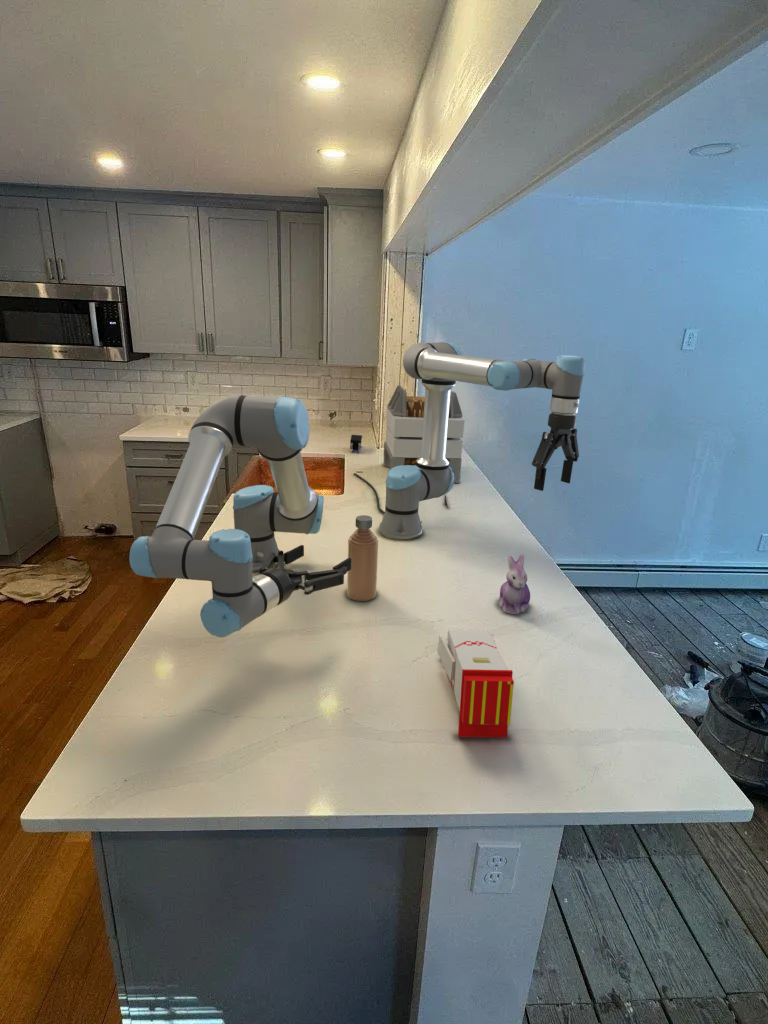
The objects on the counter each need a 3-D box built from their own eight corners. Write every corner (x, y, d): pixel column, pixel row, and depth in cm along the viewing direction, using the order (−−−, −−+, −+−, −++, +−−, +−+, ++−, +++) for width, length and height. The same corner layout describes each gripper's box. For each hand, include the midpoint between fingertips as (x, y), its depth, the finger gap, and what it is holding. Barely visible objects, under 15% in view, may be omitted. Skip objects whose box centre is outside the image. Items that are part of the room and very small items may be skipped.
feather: (444, 490, 254) (446, 487, 253) (447, 509, 227) (450, 505, 226) (441, 488, 253) (443, 485, 253) (443, 507, 227) (446, 503, 226)
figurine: (512, 619, 147) (519, 566, 142) (488, 601, 156) (494, 551, 151) (540, 611, 151) (548, 560, 146) (515, 594, 160) (522, 546, 155)
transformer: (382, 463, 289) (386, 382, 275) (445, 464, 293) (451, 384, 279) (390, 482, 257) (394, 392, 243) (460, 483, 261) (468, 394, 247)
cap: (356, 529, 148) (356, 521, 147) (354, 523, 152) (355, 515, 151) (372, 529, 148) (373, 520, 148) (370, 523, 152) (371, 515, 152)
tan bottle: (348, 601, 153) (349, 525, 145) (345, 587, 160) (347, 514, 153) (377, 600, 154) (381, 524, 146) (374, 586, 161) (377, 514, 154)
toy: (488, 613, 130) (523, 677, 101) (484, 667, 133) (517, 744, 104) (435, 612, 130) (455, 676, 101) (432, 666, 133) (451, 743, 103)
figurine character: (361, 456, 307) (362, 446, 320) (362, 442, 303) (362, 433, 317) (349, 455, 306) (350, 446, 320) (349, 442, 303) (350, 433, 316)
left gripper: (223, 591, 124) (284, 559, 142) (316, 623, 113) (370, 584, 131) (221, 559, 122) (284, 531, 139) (316, 589, 111) (371, 554, 128)
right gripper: (548, 419, 148) (537, 496, 155) (598, 411, 163) (586, 482, 171) (525, 414, 153) (515, 489, 160) (575, 407, 169) (564, 476, 176)
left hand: (325, 556), depth 135 cm, fingers open, 13 cm apart
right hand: (552, 485), depth 166 cm, fingers open, 13 cm apart
